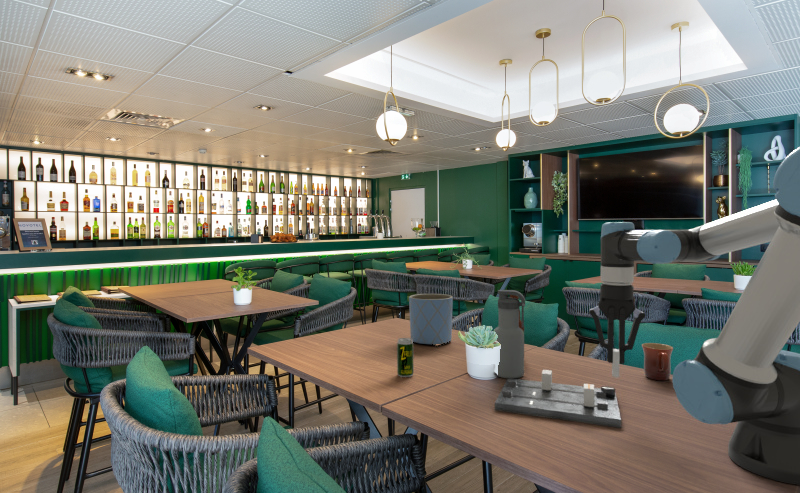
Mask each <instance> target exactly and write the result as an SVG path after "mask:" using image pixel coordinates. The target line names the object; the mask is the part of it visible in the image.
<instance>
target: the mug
mask: <svg viewBox="0 0 800 493" xmlns="http://www.w3.org/2000/svg"><path fill="white" fill-rule="evenodd" d="M641 348H642V350H643V356H644V358H643V372H644V375H645V377H646V378H647V379H650V380H653V381H659V380H665V381H668V380H669V379H670V378H671V373H672V371H671V370H672V369H671V365H672V364H671V358H672V357H671V356H672V352H673V351H674V346H671V345H668V344H664V343H657V342H656V343H655V342H645V343H642V344H641Z"/></svg>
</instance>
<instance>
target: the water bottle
mask: <svg viewBox="0 0 800 493" xmlns="http://www.w3.org/2000/svg"><path fill="white" fill-rule="evenodd" d="M497 294H498V299H497V309H498V326H497V327H495V328H494V330H493V332H494V331H495V332H496V333H497V335H498V338H497V341H498V342H499V343H500V344H501V349H500V362H499V365H498V376H497V377H499V378H502V379H506V380H507V379H508V378H512V379H520V378H522V377H523V376H524V374H525V331H524V332H523V330H522V329H521V328H519V309H520V307H521V321H522V328H524V329H525V323H524V322H525V320H524V317H525V316H524V314H525V306H526V299H525V296H524V295H523V294H522V293H521V292H520V291H518V290H513V289H498V290H497ZM510 295H515V296H517V297H518V298H519V299H516V298H510Z"/></svg>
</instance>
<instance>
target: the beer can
mask: <svg viewBox="0 0 800 493" xmlns="http://www.w3.org/2000/svg"><path fill="white" fill-rule="evenodd" d="M396 350H397V351H396V353H397V355H396V356H397V357H396V360H397V361H396V363H397V366H396V367H397V368H396V370H397V376H398V377H399V376H400V377H399V378H402V377H409V378H411V376H412V377H413V376H414V372H415V370H414V366H415V365H414V343H413V339H411V337H402V338H398V339H397V343H396Z"/></svg>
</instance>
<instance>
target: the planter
mask: <svg viewBox="0 0 800 493" xmlns="http://www.w3.org/2000/svg"><path fill="white" fill-rule="evenodd" d="M453 299H454V297H453V295H450V294H443V293H418V294H417V293H416V294H412V295H410V296H409V297H408V302H409V304H408V305H409V306H408V308H409V309H408V310H409V327H410V328H409V330H410V338H411V339H413V342H414V343H417V344H421V345H422V344H424V345H432V344H433V346H434V345H436V344H443V343H445V344H447V342H448V343H450V342H451V341H452V336H453V334H452V333H453V331H452V330H453V305H454V304H453V302H454V300H453ZM449 341H450V342H449ZM443 345H444V344H443Z"/></svg>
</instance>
